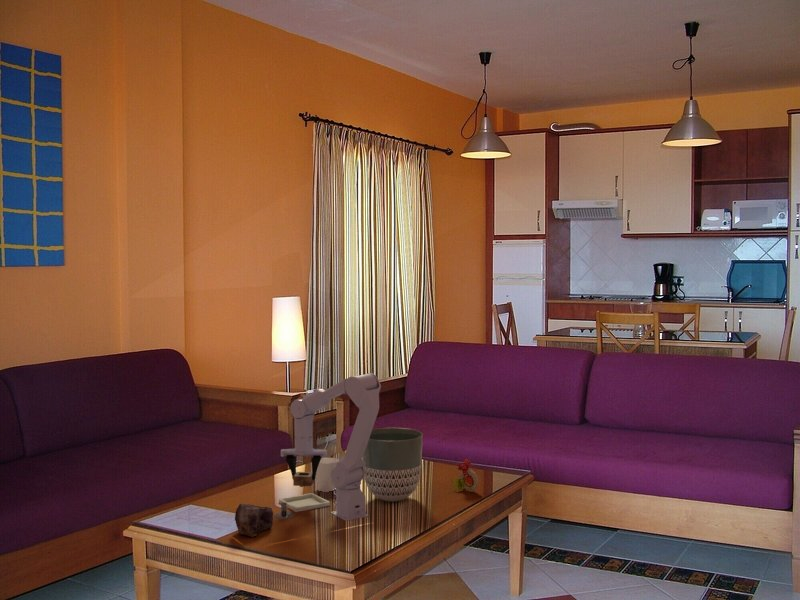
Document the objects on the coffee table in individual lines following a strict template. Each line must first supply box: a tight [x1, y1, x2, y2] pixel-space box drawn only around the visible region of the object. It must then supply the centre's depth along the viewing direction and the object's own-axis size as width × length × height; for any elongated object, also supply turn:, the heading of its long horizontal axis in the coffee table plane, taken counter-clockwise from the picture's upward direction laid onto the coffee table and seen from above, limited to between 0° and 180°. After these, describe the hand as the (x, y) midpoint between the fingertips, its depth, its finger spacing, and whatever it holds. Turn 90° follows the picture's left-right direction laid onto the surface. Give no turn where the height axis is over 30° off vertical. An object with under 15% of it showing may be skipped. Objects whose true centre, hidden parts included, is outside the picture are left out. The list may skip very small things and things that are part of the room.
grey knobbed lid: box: [273, 502, 295, 520], centre depth 253 cm, size 6×6×4 cm
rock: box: [234, 503, 274, 538], centre depth 239 cm, size 12×9×10 cm
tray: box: [278, 492, 331, 513], centre depth 265 cm, size 12×12×2 cm
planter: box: [362, 427, 424, 503], centre depth 270 cm, size 20×20×21 cm
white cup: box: [315, 457, 340, 493], centre depth 282 cm, size 8×8×10 cm
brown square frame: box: [292, 471, 315, 488], centre depth 264 cm, size 6×7×3 cm
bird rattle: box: [452, 458, 480, 493], centre depth 280 cm, size 6×11×9 cm
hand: (304, 478), depth 265 cm, fingers closed on brown square frame, 6 cm apart
